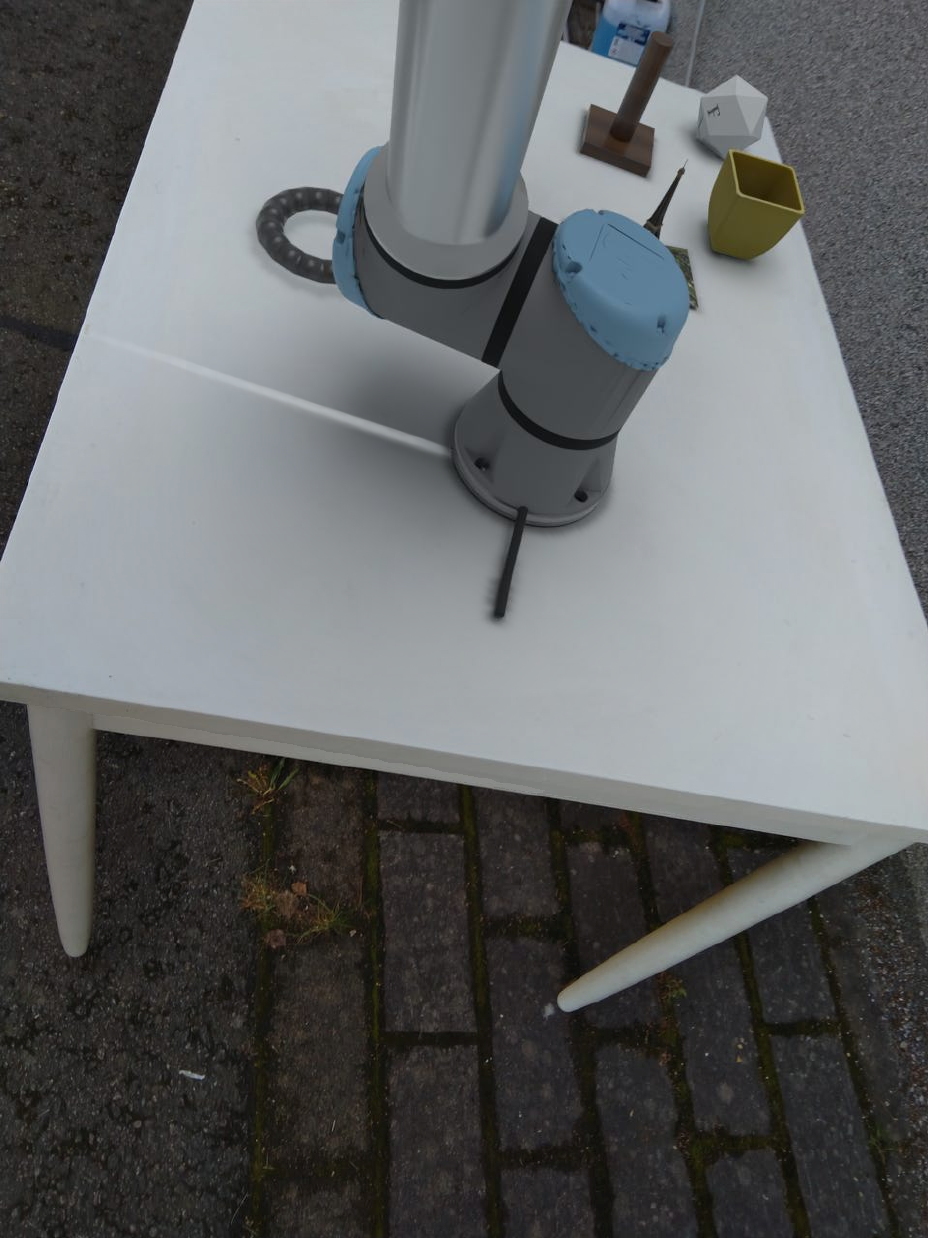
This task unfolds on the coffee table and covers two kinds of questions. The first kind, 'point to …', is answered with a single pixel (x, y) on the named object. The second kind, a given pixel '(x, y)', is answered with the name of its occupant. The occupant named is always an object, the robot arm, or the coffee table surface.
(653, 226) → the eiffel tower figurine
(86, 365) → the coffee table surface
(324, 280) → the grey ribbed ring
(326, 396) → the coffee table surface
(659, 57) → the wooden peg stand
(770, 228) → the flower pot
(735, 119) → the die
